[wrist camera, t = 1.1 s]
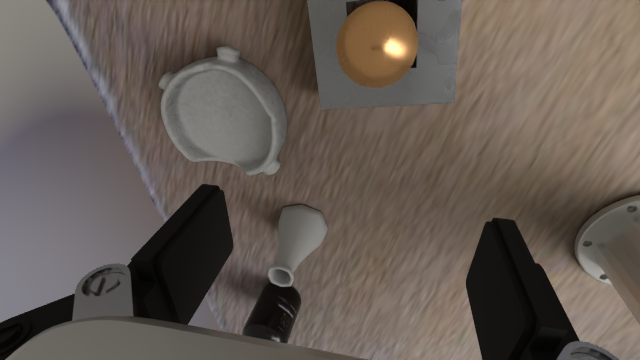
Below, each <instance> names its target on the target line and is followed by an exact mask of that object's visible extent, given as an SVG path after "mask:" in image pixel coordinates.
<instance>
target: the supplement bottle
mask: <svg viewBox="0 0 640 360" xmlns="http://www.w3.org/2000/svg"><path fill="white" fill-rule="evenodd" d="M300 305H301V298H300V295H299V293H298V292H297V291H296V290H295V289H294V288H293V287H292V286H286V287H280V286H278V285H276V284H273V283H269V284H267V285H266V286H265V287H264V289H263V291H262V293H261V294H260V296H259V298H258V300H257V302H256V304H255V306H254V308H253V310H252V312H251V314H250V316H249V318H248V320H247V322H246V324H245V326H244V329H243V332H242V335H244V336H249V337H255V338H260V339H265V340H270V341H275V342H280V343H286V344H287V342H288V339H289V337H290V334H291V331H292V328H293V325H294V323H295V320H296V317H297V314H298V311H299V308H300Z"/></svg>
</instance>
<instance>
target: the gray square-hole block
mask: <svg viewBox="0 0 640 360" xmlns="http://www.w3.org/2000/svg"><path fill="white" fill-rule="evenodd" d="M354 1H358V0H307V3H308V11H309V19H310V27H311V35H312V43H313V51H314V59H315V67H316V75H317V83H318V91H319V99H320V107H321V110H325V109H344V108H364V107H383V106H403V105H422V104H442V103H454V99H455V86H456V73H457V60H458V47H459V34H460V21H461V9H462V0H416V30H417V36H418V49H417V54H416V57H415V60H414V62H413V64H412V66H411V68H410V69H409V71H408V72H407V73H406V74H405V75H404V76H403V77H402V78H401V79H399V80H398V81H397V82H395V83H393V84H391V85H388V86H385V87H380V88H370V87H365V86H362V85H359V84H357V83H355V82H354V81H353V80H351V79H350V78H349V77H348V76H347V75H346V74H345V72H344V71H343V69H342V68H341V66H340V64H339V61H338V57H337V52H336V43H337V37H338V33H339V30H340V28H341V26H342V24H343V22H344V21H345V19H346V18H347V17H348V16H349V14H351V13H352V12H353V11H354V10H355V2H354Z"/></svg>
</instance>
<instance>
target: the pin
mask: <svg viewBox="0 0 640 360" xmlns="http://www.w3.org/2000/svg"><path fill="white" fill-rule="evenodd" d="M417 49H418V36H417V30H416V27H415V24H414V22H413V20H412V18H411V17H410V15H409V14H408V13H407V12H406V11H405V10H404V9H403V8H402V7H400V6H399V5H397V4H394V3H392V2H388V1H374V2H369V3H367V4H364V5H362V6H360V7H358V8H357V9H355V10H354V11H353V12H352V13H351V14H349V16H348V17H347V18H346V19H345V21H344V22H343V24H342V26H341V28H340V30H339V33H338V37H337V43H336V52H337V57H338V61H339V64H340V66H341V68H342V69H343V71H344V72H345V74H346V75H347V76H348V77H349V78H350V79H351V80H353V81H354V82H355V83H357V84H359V85H362V86H365V87H370V88H380V87H385V86H388V85H391V84H393V83H395V82H397V81H398V80H399V79H401V78H402V77H403V76H404V75H405V74H406V73H407V72H408V71H409V69H410V68H411V66H412V64H413V62H414V60H415V57H416V54H417Z"/></svg>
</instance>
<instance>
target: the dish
mask: <svg viewBox="0 0 640 360" xmlns="http://www.w3.org/2000/svg"><path fill="white" fill-rule="evenodd" d="M217 55H218V56H217V57H209V58H205V59H201V60H198V61H196V62H193V63H191V64H189V65H187V66H185V67H184V68H182V69H181V70H180V71H178V72H177V73H174V72H173V71H168V72H167V73H166V74H164V75H163V76H162V78H161V79H160V81H159V87H160V88H161V89H163V90H164V93H163V95H162V99H161V115H162V119H163V123H164V126H165V128H166V130H167V133H168V135H169V137H170V139H171V140H172V142H173V143H174V145H175V146H176V147H177V148H178V149H179V150H180V151H181V152H182V154H183V155H184V156H185V157H186V158H187V159H188V160H190V161H192V162H201V161H222V162H227V163H231V164H234V165H237V166H239V167H240V168H241V169H243V170H244V171H245V173H246V175H248V176H251V175H255V174H258V173H260V172H264V174H266V175H272V174H275V173H276V172H277V170H278V169H279V168H280V166H281V161H280V159H279V158H278V154H279V152H280V150H281V148H282V146H283V143H284V140H285V137H286V132H287V116H286V110H285V106H284V103H283V101H282V99H281V96H280V95H279V93H278V91H277V89H276V88H275V86H274V85H273V84H272V83H271V81H270V80H269V79H268V78H267V77H266V76H265V75H264V74H263V73H262V72H261V71H260V70H259V69H257V68H256V67H255V66H253V65H252V64H250V63H248V62H247V61H244V60H242V59H239V58H240V51H239V50H238V49H236V48H234V47H232V46H230V45H227V46H223V47H218V48H217Z"/></svg>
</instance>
